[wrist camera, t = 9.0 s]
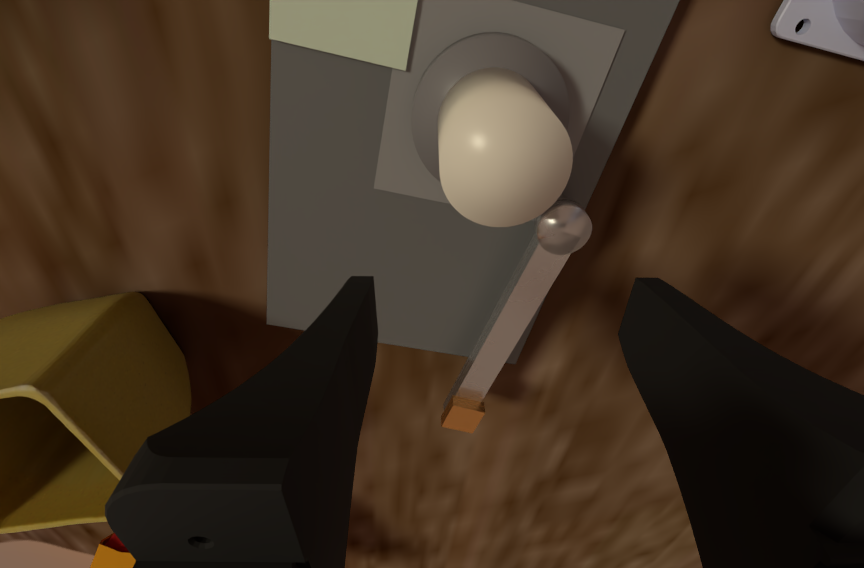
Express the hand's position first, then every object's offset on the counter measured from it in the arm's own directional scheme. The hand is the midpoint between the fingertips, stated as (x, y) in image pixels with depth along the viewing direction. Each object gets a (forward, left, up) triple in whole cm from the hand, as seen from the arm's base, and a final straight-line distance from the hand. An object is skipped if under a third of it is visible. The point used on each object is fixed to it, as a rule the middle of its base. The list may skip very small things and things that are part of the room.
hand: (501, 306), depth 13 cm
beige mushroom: (0, -3, -9) cm, 9 cm away
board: (+2, 0, -10) cm, 10 cm away
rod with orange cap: (-3, +6, -7) cm, 10 cm away
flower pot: (+17, +13, -10) cm, 24 cm away
